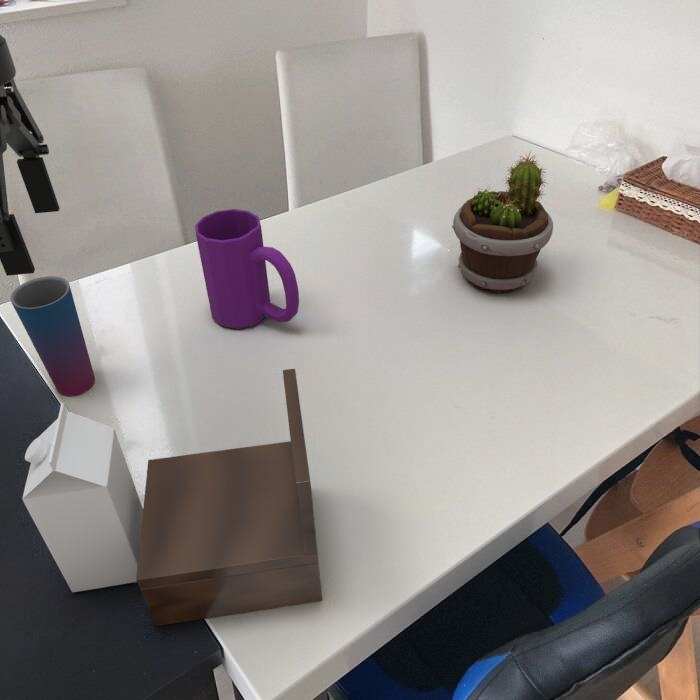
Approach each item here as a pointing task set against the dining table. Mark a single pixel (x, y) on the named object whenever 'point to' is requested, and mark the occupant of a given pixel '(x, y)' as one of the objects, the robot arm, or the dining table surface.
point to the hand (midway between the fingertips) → (35, 240)
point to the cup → (55, 332)
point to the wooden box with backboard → (230, 529)
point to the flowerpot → (504, 231)
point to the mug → (242, 270)
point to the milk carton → (84, 502)
